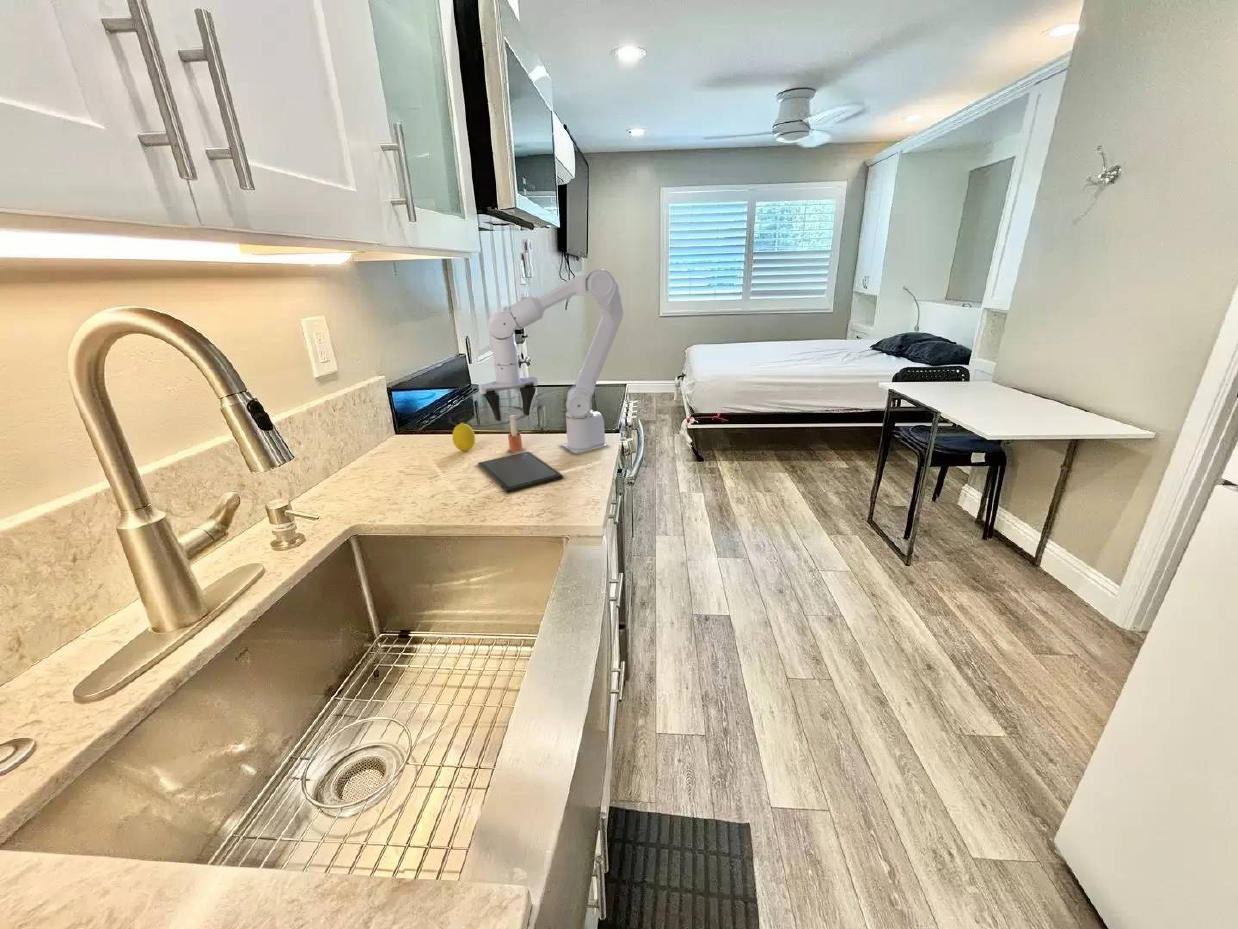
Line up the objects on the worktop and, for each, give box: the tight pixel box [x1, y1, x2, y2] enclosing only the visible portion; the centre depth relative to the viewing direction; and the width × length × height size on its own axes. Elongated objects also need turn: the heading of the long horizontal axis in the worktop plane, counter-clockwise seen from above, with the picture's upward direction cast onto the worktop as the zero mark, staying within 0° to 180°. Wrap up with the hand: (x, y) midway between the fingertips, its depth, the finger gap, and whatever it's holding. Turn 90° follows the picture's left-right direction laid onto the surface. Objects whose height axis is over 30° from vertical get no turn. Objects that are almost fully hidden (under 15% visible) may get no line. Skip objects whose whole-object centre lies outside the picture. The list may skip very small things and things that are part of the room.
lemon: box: [452, 422, 476, 452], centre depth 126 cm, size 6×6×8 cm
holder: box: [507, 432, 523, 452], centre depth 127 cm, size 3×3×4 cm
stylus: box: [508, 414, 518, 436], centre depth 126 cm, size 1×1×9 cm
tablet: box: [477, 451, 563, 494], centre depth 114 cm, size 13×19×1 cm
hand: (512, 417), depth 124 cm, fingers open, 7 cm apart
